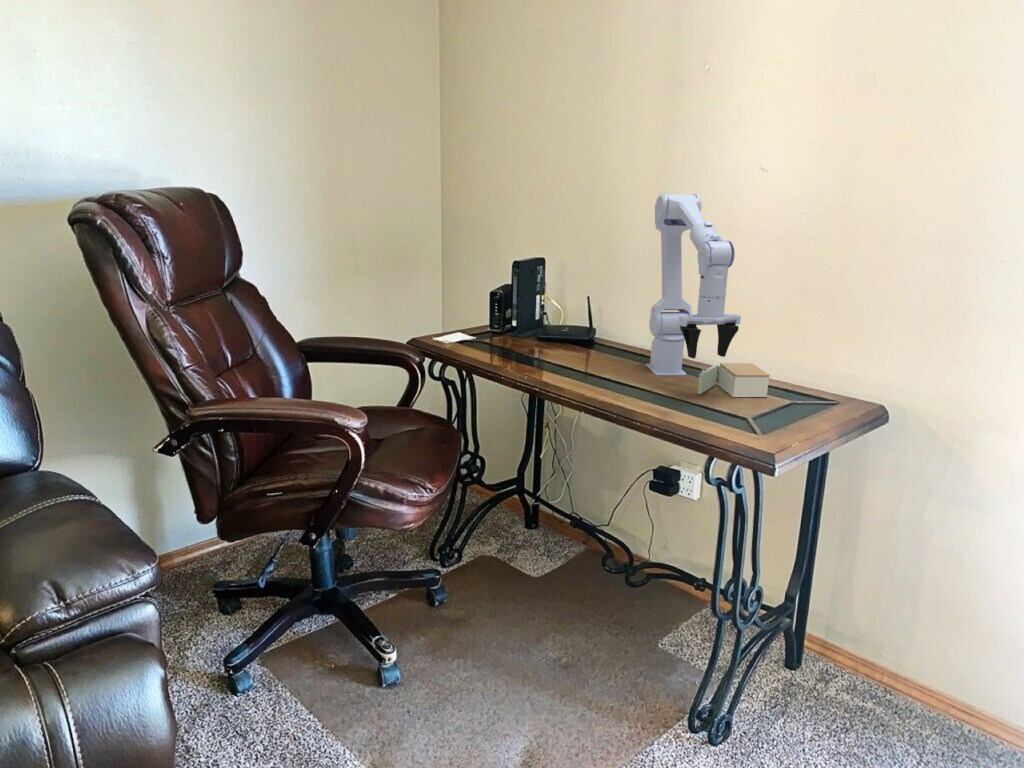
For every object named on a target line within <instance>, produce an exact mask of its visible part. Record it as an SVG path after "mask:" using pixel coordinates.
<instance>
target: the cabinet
mask: <svg viewBox="0 0 1024 768" xmlns="http://www.w3.org/2000/svg"><path fill="white" fill-rule="evenodd" d="M770 377H771V375H770V374H769V373H767V372H766V371H764V370H762V369H761V368H760V367H758V366H757V365H755V364H754V363H752V362H746V363H745V362H737V363H736V362H735V363H733V362H723V363H722V362H720V363H719V372H718V381H717V386H718V387H719V386H720V387H721V388H720V387H719V388H720V389H722V390H723V389H724V390H725V391H726V392H728V393H729V394H730V395H731V396H732V397H767V395H768V390H769V389H768V387H769V383H770V381H769V380H770ZM724 390H723V391H724ZM725 391H724V392H725ZM726 392H725V393H726ZM728 393H727V394H728ZM729 394H728V395H729ZM730 395H729V396H730ZM731 396H730V397H731Z"/></svg>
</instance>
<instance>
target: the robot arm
mask: <svg viewBox="0 0 1024 768" xmlns="http://www.w3.org/2000/svg"><path fill="white" fill-rule="evenodd" d="M654 224H655V229H656V230H657V231H659V232H660V246H661V252H660V253H661V298H660V299H659V300H658V301H657V302H655V304H653V305H652V307H651V309H650V316H649V323H648V324H649V325H648V326H649V331H650V334H652V336H653V337H654V338H653V339H652V341H651V348H650V349H651V350H650V359H649V363H646V364H645V366H647V368H648V369H649V370H650V371H651V372H652V373H653V374H654V375H655V376H684V377H685V376H687V373H686V371H684V370H683V368H682V367H683V360H684V359H683V358H684V349H685V345H686V351H687V357H689V358H691V359H696V358H697V349H698V342H699V340H700V339H699V338H700V335H701V332H702V330H701V329H700V328H699V327H698V326H712V325H713V326H714V325H715V326H716V327H717V328H716V329H717V337H718V339H717V341H718V342H717V351H716V352H717V356H720V357H722V358H725V357H726V356H727V352H728V349H729V347H730V344H731V342H732V340H733V338H734V337H735V335H736V334H737V333H738V331H739V325H741V317H742V316H741V315H739V314H726V313H725V305H726V295H727V294H726V293H727V286H728V285H727V283H728V275H729V274H728V273H729V268H730V267H732V265H733V264H734V261H735V258H736V257H735V255H736V252H735V245H734V244H733V242H732V240H726V239H723V238H722V236H721V235H720V234H719V232H718V231H717V229H716V228H715V226H714V225H713V223H712V222H711V221H705V219H704V216H703V214H702V200H701V197H700V196H699V195H698V194H697V193H693V194H689V193H688V194H683V193H682V194H681V193H679V194H678V193H665V192H664V193H663V192H662V193H660V194H659V195H658V197H657V198H656V200H655V204H654ZM688 230H689V231H690V232H689V239H690V241H691V243H692V244H693V245H694V247H695V249H696V250H697V262H698V263H697V264H698V275H700V279H699V288H698V299H697V301H698V302H697V314H693V309H692V306H691V305H690V304H689V303H688V302H687V301H686V300H684V298H683V285H682V284H683V282H682V281H683V278H682V277H683V276H682V275H683V274H682V273H683V271H682V269H683V267H682V266H683V265H682V258H683V257H682V235H683V233H684V232H686V231H688Z"/></svg>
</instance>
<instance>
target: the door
mask: <svg viewBox="0 0 1024 768" xmlns="http://www.w3.org/2000/svg"><path fill="white" fill-rule="evenodd" d="M719 369H720V365H719V364H713V365H712V366H710V367H708V368H707V369H704V370H703V371H702V372H700V373H699V375H698V376H699V377H698V383H697V385H698V386H697V394H699V395H702V394H703V393H704V392H706V391H708V390H710V389H711V388H713V387H714V386H716V385H717V384H718V378H719Z"/></svg>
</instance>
